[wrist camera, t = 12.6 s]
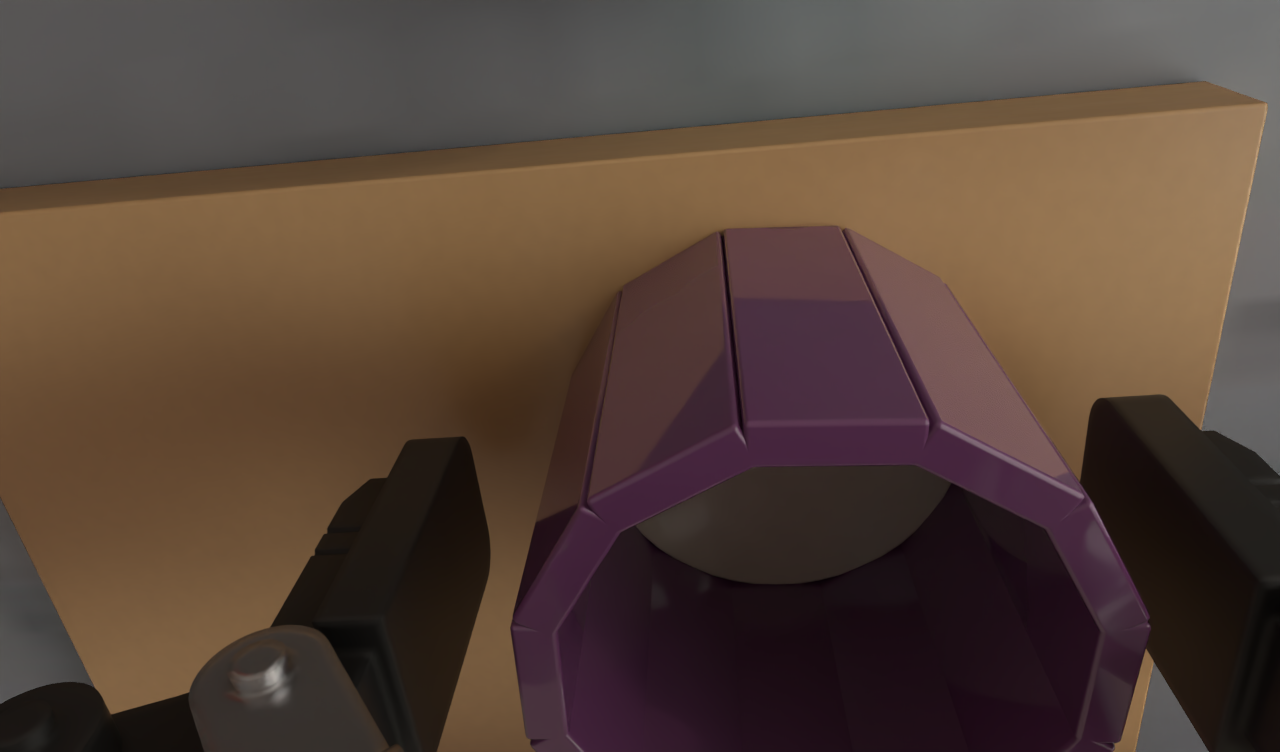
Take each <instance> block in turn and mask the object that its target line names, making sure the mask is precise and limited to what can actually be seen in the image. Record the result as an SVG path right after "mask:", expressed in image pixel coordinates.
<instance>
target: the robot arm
mask: <svg viewBox="0 0 1280 752" xmlns="http://www.w3.org/2000/svg"><path fill="white" fill-rule="evenodd" d="M1080 483H1081V485H1082V486H1083V488H1084V489H1085V491H1086V492H1087V494H1088V495H1089V497H1090V498H1091V500H1092V501H1093V503H1094V505H1095V507H1096V509H1097V511H1098V513H1099V514H1100V516H1101V518H1102V520H1103V522H1104V524H1105V526H1106V528H1107V530H1108V532H1109V534H1110V536H1111V538H1112V540H1113V542H1114V544H1115V546H1116V548H1117V550H1118V552H1119V554H1120V556H1121V558H1122V560H1123V562H1124V564H1125V566H1126V568H1127V570H1128V572H1129V574H1130V576H1131V578H1132V580H1133V582H1134V584H1135V586H1136V588H1137V590H1138V592H1139V594H1140V596H1141V598H1142V600H1143V602H1144V604H1145V606H1146V607H1147V609H1148V611H1149V613H1150V620H1149V621H1148V622H1149V623H1150V626H1151V632H1150V635H1149V639H1148V643H1147V646H1146V649H1147V651H1148V653H1149V654H1150V656H1151V658H1152V659H1153V661H1154V662H1155V664H1156V666H1157V667H1158V669H1159V671H1160V672H1161V674H1162V676H1163V677H1164V679H1165V680H1166V682H1167V684H1168V685H1169V687H1170V689H1171V690H1172V692H1173V693H1174V695H1175V697H1176V698H1177V700H1178V702H1179V703H1180V705H1181V707H1182V708H1183V710H1184V711H1185V713H1186V715H1187V716H1188V718H1189V720H1190V721H1191V723H1192V725H1193V726H1194V728H1195V729H1196V731H1197V733H1198V734H1199V736H1200V738H1201V739H1202V741H1203V743H1204V744H1205V746H1206V747H1207V749H1208V751H1209V752H1280V476H1279V475H1278V474H1277V473H1276V472H1275V471H1274V470H1273V469H1272V468H1271V467H1270V466H1269V465H1268V464H1267V463H1266V462H1265V461H1264V460H1263V459H1262V458H1261V457H1260V456H1259V455H1257V454H1256V453H1255V452H1254V451H1252V450H1250V449H1248V448H1246V447H1244V446H1242V445H1240V444H1239V443H1237V442H1235V441H1233V440H1231V439H1229V438H1227V437H1225V436H1223V435H1221V434H1219V433H1218V432H1216V431H1201V430H1200V429H1199V428H1198V427H1197V426H1196V425H1195V424H1194V423H1193V422H1192V421H1191V420H1190V419H1189V418H1188V417H1187V416H1186V414H1185V413H1184V412H1183V411H1182V410H1181V409H1180V408H1179V407H1178V406H1177V405H1176V404H1175V403H1174V402H1173V401H1172V400H1171V399H1170V398H1169V397H1167V396H1166V395H1163V394H1155V395H1139V396H1123V397H1107V398H1099V399H1097V400H1096V401H1095V402H1094V404H1093V405H1092V408H1091V411H1090V415H1089V420H1088V428H1087V435H1086V442H1085V449H1084V456H1083V464H1082V471H1081V478H1080ZM314 551H315V555H314V556H311V557H310V559H309V560H308V562H307V564H306V566H305V567H304V569H303V571H302V573H301V574H300V576H299V578H298V580H297V581H296V583H295V585H294V587H293V588H292V590H291V592H290V593H289V595H288V597H287V599H286V600H285V602H284V604H283V606H282V607H281V609H280V611H279V613H278V614H277V616H276V618H275V619H274V621H273V623H272V625H271V626H270V628H266V629H262V630H259V631H256V632H253V633H251V634H248V635H246V636H244V637H242V638H240V639H238V640H236V641H234V642H232V643H231V644H229V645H228V646H226V647H224V648H223V649H222V650H220V651H219V652H218V653H217V654H215V655H214V656H213V657H212V658H211V659H210V660H209V661H208V662H207V663H206V664H205V665H204V666H203V667H202V668H201V670H200V671H199V672H198V674H197V675H196V677H195V679H194V680H193V682H192V685H191V688H190V690H189V692H188V693H185V694H182V695H179V696H176V697H172V698H168V699H165V700H161V701H158V702H154V703H150V704H147V705H143V706H140V707H136V708H132V709H129V710H125V711H122V712H118V713H115V714H110V712H109V710H108V708H107V706H106V704H105V702H104V700H103V698H102V696H101V694H100V693H99V692H98V690H96V689H95V688H94V687H92V686H90V685H87V684H84V683H77V682H62V683H55V684H50V685H46V686H42V687H38V688H35V689H33V690H30V691H27V692H24V693H22V694H20V695H18V696H15V697H13V698H11V699H9V700H7V701H5V702H4V703H2V704H0V752H437V750H438V746H439V743H440V739H441V736H442V733H443V729H444V726H445V723H446V719H447V716H448V712H449V709H450V706H451V702H452V699H453V695H454V692H455V689H456V685H457V682H458V679H459V675H460V672H461V668H462V665H463V662H464V658H465V655H466V652H467V648H468V645H469V641H470V638H471V635H472V631H473V628H474V625H475V621H476V618H477V614H478V611H479V608H480V604H481V601H482V598H483V594H484V591H485V587H486V584H487V581H488V577H489V571H490V559H491V549H490V536H489V530H488V525H487V520H486V516H485V511H484V506H483V502H482V497H481V492H480V487H479V483H478V478H477V473H476V469H475V464H474V459H473V455H472V451H471V447H470V444H469V442H468V440H467V439H466V438H465V437H463V436H459V437H443V438H427V439H411V440H408V441H407V442H406V443H405V445H404V446H403V448H402V450H401V452H400V454H399V456H398V458H397V460H396V462H395V464H394V465H393V467H392V469H391V471H390V473H389V475H388V477H387V478H373V479H369V480H368V481H367V482H366V483H365V484H363V485H362V486H361V487H360V488H359V489H357V490H356V491H355V492H354V493H353V494H351V495H350V496H349V497H348V498H347V499H345V500H344V501H343V502H342V503H341V505H340V507H339V508H338V510H337V512H336V514H335V515H334V517H333V519H332V521H331V522H330V524H329V526H328V528H327V534H323V536H322V538H321V540H320V541H319V543H318V545H317V547H316V548H315V550H314Z"/></svg>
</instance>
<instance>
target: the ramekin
mask: <svg viewBox="0 0 1280 752" xmlns="http://www.w3.org/2000/svg"><path fill="white" fill-rule="evenodd" d="M1149 620H1150V613H1149V611H1148V609H1147V607H1146V606H1145V604H1144V602H1143V600H1142V598H1141V596H1140V594H1139V592H1138V590H1137V588H1136V586H1135V584H1134V582H1133V580H1132V578H1131V576H1130V574H1129V572H1128V570H1127V568H1126V566H1125V564H1124V562H1123V560H1122V558H1121V556H1120V554H1119V552H1118V550H1117V548H1116V546H1115V544H1114V542H1113V540H1112V538H1111V536H1110V534H1109V532H1108V530H1107V528H1106V526H1105V524H1104V522H1103V520H1102V518H1101V516H1100V514H1099V513H1098V511H1097V509H1096V507H1095V505H1094V503H1093V501H1092V500H1091V498H1090V497H1089V495H1088V494H1087V492H1086V491H1085V489H1084V488H1083V486H1082V485H1081V483H1080V482H1079V480H1078V479H1077V477H1076V476H1075V474H1074V473H1073V471H1072V470H1071V468H1070V467H1069V465H1068V464H1067V462H1066V461H1065V459H1064V458H1063V456H1062V455H1061V453H1060V452H1059V450H1058V449H1057V447H1056V446H1055V445H1054V443H1053V442H1052V440H1051V439H1050V437H1049V436H1048V434H1047V433H1046V431H1045V430H1044V428H1043V427H1042V425H1041V424H1040V422H1039V421H1038V419H1037V418H1036V416H1035V415H1034V413H1033V412H1032V410H1031V409H1030V407H1029V406H1028V404H1027V403H1026V401H1025V400H1024V398H1023V397H1022V395H1021V394H1020V392H1019V391H1018V389H1017V388H1016V386H1015V385H1014V383H1013V382H1012V380H1011V379H1010V377H1009V376H1008V374H1007V373H1006V371H1005V370H1004V368H1003V367H1002V366H1001V364H1000V363H999V361H998V360H997V358H996V357H995V355H994V354H993V352H992V351H991V349H990V348H989V346H988V345H987V343H986V342H985V340H984V339H983V337H982V336H981V334H980V333H979V331H978V330H977V328H976V327H975V325H974V324H973V322H972V321H971V319H970V318H969V316H968V315H967V313H966V312H965V310H964V309H963V307H962V306H961V304H960V303H959V301H958V300H957V298H956V297H955V295H954V294H953V292H952V291H951V289H950V288H949V287H948V285H947V284H945V283H943V281H942V280H941V278H940V277H938V276H936V275H935V274H933V273H931V272H929V271H927V270H925V269H923V268H922V267H920V266H918V265H916V264H914V263H912V262H910V261H909V260H907V259H905V258H903V257H901V256H899V255H897V254H896V253H894V252H892V251H890V250H888V249H886V248H884V247H883V246H881V245H879V244H877V243H875V242H873V241H871V240H870V239H868V238H866V237H864V236H862V235H860V234H858V233H857V232H855V231H853V230H851V229H849V228H845V229H844V230H843V231H842V230H841V228H840V227H839V226H803V227H768V228H732V229H725V230H724V231H723V236H722V234H721V233H720V232H714V233H713V234H711V235H709V236H708V237H706V238H704V239H702V240H701V241H699V242H697V243H696V244H694V245H692V246H690V247H689V248H687V249H685V250H684V251H682V252H680V253H678V254H677V255H675V256H673V257H672V258H670V259H668V260H666V261H665V262H663V263H661V264H660V265H658V266H656V267H654V268H653V269H651V270H649V271H648V272H646V273H644V274H642V275H641V276H639V277H637V278H636V279H634V280H632V281H630V282H629V283H627V284H625V285H624V286H623V289H622V291H619V292H617V293H616V295H615V297H614V299H613V300H612V302H611V304H610V306H609V308H608V310H607V311H606V313H605V315H604V317H603V319H602V320H601V322H600V324H599V326H598V328H597V330H596V331H595V333H594V335H593V337H592V339H591V340H590V342H589V344H588V346H587V348H586V350H585V351H584V353H583V355H582V357H581V359H580V360H579V362H578V364H577V366H576V368H575V370H574V371H573V373H572V376H571V380H570V384H569V388H568V392H567V396H566V400H565V404H564V408H563V412H562V417H561V421H560V425H559V429H558V433H557V437H556V441H555V445H554V449H553V453H552V457H551V461H550V465H549V469H548V473H547V477H546V482H545V486H544V490H543V494H542V498H541V502H540V506H539V510H538V514H537V518H536V522H535V526H534V530H533V534H532V538H531V542H530V547H529V551H528V555H527V559H526V563H525V567H524V571H523V575H522V579H521V583H520V587H519V591H518V595H517V599H516V603H515V607H514V612H513V618H512V622H511V626H510V632H511V639H512V646H513V653H514V660H515V667H516V674H517V681H518V688H519V695H520V702H521V709H522V716H523V723H524V730H525V735H526V738H527V739H530V745H531V747H532V749H533V750H534V751H535V752H1113V751H1114V750H1115V745H1114V743H1118V742H1120V741H1121V738H1122V735H1123V731H1124V727H1125V724H1126V720H1127V716H1128V713H1129V709H1130V705H1131V701H1132V698H1133V694H1134V690H1135V687H1136V683H1137V679H1138V676H1139V672H1140V668H1141V665H1142V661H1143V657H1144V654H1145V650H1146V646H1147V643H1148V639H1149V635H1150V632H1151V626H1150V623H1149V622H1148V621H1149Z"/></svg>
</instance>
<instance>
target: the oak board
mask: <svg viewBox="0 0 1280 752" xmlns="http://www.w3.org/2000/svg"><path fill="white" fill-rule="evenodd" d="M1267 109H1268V105H1267V103H1265V102H1263V101H1260V100H1257V99H1254V98H1251V97H1248V96H1246V95H1243V94H1240V93H1237V92H1234V91H1231V90H1229V89H1226V88H1223V87H1220V86H1217V85H1214V84H1211V83H1209V82H1206V81H1203V82H1192V83H1181V84H1169V85H1158V86H1147V87H1136V88H1125V89H1113V90H1102V91H1091V92H1080V93H1069V94H1057V95H1046V96H1035V97H1024V98H1013V99H1001V100H990V101H979V102H968V103H957V104H945V105H934V106H923V107H912V108H901V109H889V110H878V111H867V112H856V113H845V114H833V115H822V116H811V117H800V118H789V119H777V120H766V121H755V122H744V123H733V124H721V125H710V126H699V127H688V128H677V129H665V130H654V131H643V132H632V133H621V134H609V135H598V136H587V137H576V138H565V139H553V140H542V141H531V142H520V143H509V144H497V145H486V146H475V147H464V148H453V149H441V150H430V151H419V152H408V153H397V154H385V155H374V156H363V157H352V158H341V159H329V160H318V161H307V162H296V163H285V164H273V165H262V166H251V167H240V168H229V169H217V170H206V171H195V172H184V173H173V174H161V175H150V176H139V177H128V178H117V179H105V180H94V181H83V182H72V183H61V184H49V185H38V186H27V187H16V188H5V189H0V498H1V500H2V502H3V504H4V506H5V508H6V510H7V512H8V514H9V516H10V518H11V520H12V522H13V524H14V526H15V528H16V530H17V532H18V534H19V536H20V538H21V540H22V542H23V544H24V546H25V548H26V550H27V552H28V554H29V556H30V558H31V560H32V562H33V564H34V566H35V568H36V570H37V572H38V574H39V576H40V578H41V580H42V582H43V584H44V586H45V588H46V590H47V592H48V594H49V596H50V599H51V601H52V603H53V605H54V607H55V609H56V611H57V613H58V615H59V617H60V619H61V621H62V623H63V625H64V627H65V629H66V631H67V633H68V635H69V637H70V639H71V641H72V643H73V645H74V647H75V649H76V651H77V653H78V655H79V657H80V659H81V661H82V663H83V665H84V667H85V669H86V671H87V673H88V675H89V677H90V679H91V681H92V683H93V685H94V687H95V689H96V690H98V692H99V693H100V694H101V696H102V698H103V700H104V702H105V704H106V706H107V708H108V710H109V712H110V714H115V713H118V712H122V711H125V710H129V709H132V708H136V707H140V706H143V705H147V704H150V703H154V702H158V701H161V700H165V699H168V698H172V697H176V696H179V695H182V694H185V693H188V692H189V690H190V688H191V685H192V682H193V680H194V679H195V677H196V675H197V674H198V672H199V671H200V670H201V668H202V667H203V666H204V665H205V664H206V663H207V662H208V661H209V660H210V659H211V658H212V657H213V656H214V655H215V654H217V653H218V652H219V651H220V650H222V649H223V648H224V647H226V646H228V645H229V644H231V643H232V642H234V641H236V640H238V639H240V638H242V637H244V636H246V635H248V634H251V633H253V632H256V631H259V630H262V629H266V628H270V626H271V625H272V623H273V621H274V619H275V618H276V616H277V614H278V613H279V611H280V609H281V607H282V606H283V604H284V602H285V600H286V599H287V597H288V595H289V593H290V592H291V590H292V588H293V587H294V585H295V583H296V581H297V580H298V578H299V576H300V574H301V573H302V571H303V569H304V567H305V566H306V564H307V562H308V560H309V559H310V557H311V556H314V555H315V551H314V550H315V548H316V547H317V545H318V543H319V541H320V540H321V538H322V536H323V534H327V528H328V526H329V524H330V522H331V521H332V519H333V517H334V515H335V514H336V512H337V510H338V508H339V507H340V505H341V503H342V502H343V501H344V500H345V499H347V498H348V497H349V496H350V495H351V494H353V493H354V492H355V491H356V490H357V489H359V488H360V487H361V486H362V485H363V484H365V483H366V482H367V481H368V480H369V479H373V478H387V477H388V475H389V473H390V471H391V469H392V467H393V465H394V464H395V462H396V460H397V458H398V456H399V454H400V452H401V450H402V448H403V446H404V445H405V443H406V442H407V441H408V440H411V439H427V438H443V437H459V436H463V437H465V438H466V439H467V440H468V442H469V444H470V447H471V451H472V455H473V459H474V464H475V469H476V473H477V478H478V483H479V487H480V492H481V497H482V502H483V506H484V511H485V516H486V520H487V525H488V530H489V536H490V549H491V559H490V571H489V577H488V581H487V584H486V587H485V591H484V594H483V598H482V601H481V604H480V608H479V611H478V614H477V618H476V621H475V625H474V628H473V631H472V635H471V638H470V641H469V645H468V648H467V652H466V655H465V658H464V662H463V665H462V668H461V672H460V675H459V679H458V682H457V685H456V689H455V692H454V695H453V699H452V702H451V706H450V709H449V712H448V716H447V719H446V723H445V726H444V729H443V733H442V736H441V739H440V743H439V746H438V750H437V752H535V751H534V750H533V749H532V747H531V745H530V739H527V738H526V735H525V730H524V723H523V716H522V709H521V702H520V695H519V688H518V681H517V674H516V667H515V660H514V653H513V646H512V639H511V632H510V626H511V622H512V618H513V612H514V607H515V603H516V599H517V595H518V591H519V587H520V583H521V579H522V575H523V571H524V567H525V563H526V559H527V555H528V551H529V547H530V542H531V538H532V534H533V530H534V526H535V522H536V518H537V514H538V510H539V506H540V502H541V498H542V494H543V490H544V486H545V482H546V477H547V473H548V469H549V465H550V461H551V457H552V453H553V449H554V445H555V441H556V437H557V433H558V429H559V425H560V421H561V417H562V412H563V408H564V404H565V400H566V396H567V392H568V388H569V384H570V380H571V376H572V373H573V371H574V370H575V368H576V366H577V364H578V362H579V360H580V359H581V357H582V355H583V353H584V351H585V350H586V348H587V346H588V344H589V342H590V340H591V339H592V337H593V335H594V333H595V331H596V330H597V328H598V326H599V324H600V322H601V320H602V319H603V317H604V315H605V313H606V311H607V310H608V308H609V306H610V304H611V302H612V300H613V299H614V297H615V295H616V293H617V292H619V291H622V289H623V286H624V285H625V284H627V283H629V282H630V281H632V280H634V279H636V278H637V277H639V276H641V275H642V274H644V273H646V272H648V271H649V270H651V269H653V268H654V267H656V266H658V265H660V264H661V263H663V262H665V261H666V260H668V259H670V258H672V257H673V256H675V255H677V254H678V253H680V252H682V251H684V250H685V249H687V248H689V247H690V246H692V245H694V244H696V243H697V242H699V241H701V240H702V239H704V238H706V237H708V236H709V235H711V234H713V233H714V232H720V233H721V234H722V236H723V231H724V230H725V229H732V228H768V227H803V226H839V227H840V228H841V230H842V231H843V230H844V229H845V228H849V229H851V230H853V231H855V232H857V233H858V234H860V235H862V236H864V237H866V238H868V239H870V240H871V241H873V242H875V243H877V244H879V245H881V246H883V247H884V248H886V249H888V250H890V251H892V252H894V253H896V254H897V255H899V256H901V257H903V258H905V259H907V260H909V261H910V262H912V263H914V264H916V265H918V266H920V267H922V268H923V269H925V270H927V271H929V272H931V273H933V274H935V275H936V276H938V277H940V278H941V280H942V281H943V283H945V284H947V285H948V287H949V288H950V289H951V291H952V292H953V294H954V295H955V297H956V298H957V300H958V301H959V303H960V304H961V306H962V307H963V309H964V310H965V312H966V313H967V315H968V316H969V318H970V319H971V321H972V322H973V324H974V325H975V327H976V328H977V330H978V331H979V333H980V334H981V336H982V337H983V339H984V340H985V342H986V343H987V345H988V346H989V348H990V349H991V351H992V352H993V354H994V355H995V357H996V358H997V360H998V361H999V363H1000V364H1001V366H1002V367H1003V368H1004V370H1005V371H1006V373H1007V374H1008V376H1009V377H1010V379H1011V380H1012V382H1013V383H1014V385H1015V386H1016V388H1017V389H1018V391H1019V392H1020V394H1021V395H1022V397H1023V398H1024V400H1025V401H1026V403H1027V404H1028V406H1029V407H1030V409H1031V410H1032V412H1033V413H1034V415H1035V416H1036V418H1037V419H1038V421H1039V422H1040V424H1041V425H1042V427H1043V428H1044V430H1045V431H1046V433H1047V434H1048V436H1049V437H1050V439H1051V440H1052V442H1053V443H1054V445H1055V446H1056V447H1057V449H1058V450H1059V452H1060V453H1061V455H1062V456H1063V458H1064V459H1065V461H1066V462H1067V464H1068V465H1069V467H1070V468H1071V470H1072V471H1073V473H1074V474H1075V476H1076V477H1077V479H1078V480H1079V482H1080V478H1081V471H1082V464H1083V456H1084V449H1085V442H1086V435H1087V428H1088V420H1089V415H1090V411H1091V408H1092V405H1093V404H1094V402H1095V401H1096V400H1097V399H1099V398H1107V397H1123V396H1139V395H1155V394H1163V395H1166V396H1167V397H1169V398H1170V399H1171V400H1172V401H1173V402H1174V403H1175V404H1176V405H1177V406H1178V407H1179V408H1180V409H1181V410H1182V411H1183V412H1184V413H1185V414H1186V416H1187V417H1188V418H1189V419H1190V420H1191V421H1192V422H1193V423H1194V424H1195V425H1196V426H1197V427H1198V428H1199V429H1200V430H1201V429H1202V425H1203V420H1204V415H1205V410H1206V405H1207V400H1208V395H1209V391H1210V386H1211V381H1212V376H1213V371H1214V366H1215V361H1216V357H1217V352H1218V347H1219V342H1220V337H1221V332H1222V327H1223V323H1224V318H1225V313H1226V308H1227V303H1228V298H1229V293H1230V288H1231V284H1232V279H1233V274H1234V269H1235V264H1236V259H1237V254H1238V250H1239V245H1240V240H1241V235H1242V230H1243V225H1244V220H1245V216H1246V211H1247V206H1248V201H1249V196H1250V191H1251V186H1252V182H1253V177H1254V172H1255V167H1256V162H1257V157H1258V152H1259V148H1260V143H1261V138H1262V133H1263V128H1264V123H1265V118H1266V114H1267ZM1153 663H1154V661H1153V659H1152V658H1151V656H1150V654H1149V653H1148V651H1147V649H1146V650H1145V654H1144V657H1143V661H1142V665H1141V668H1140V672H1139V676H1138V679H1137V683H1136V687H1135V690H1134V694H1133V698H1132V701H1131V705H1130V709H1129V713H1128V716H1127V720H1126V724H1125V727H1124V731H1123V735H1122V738H1121V741H1120V742H1118V743H1114V745H1115V750H1114V751H1113V752H1135V750H1136V745H1137V740H1138V736H1139V731H1140V726H1141V721H1142V716H1143V711H1144V706H1145V702H1146V697H1147V692H1148V687H1149V682H1150V677H1151V672H1152V668H1153Z"/></svg>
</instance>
